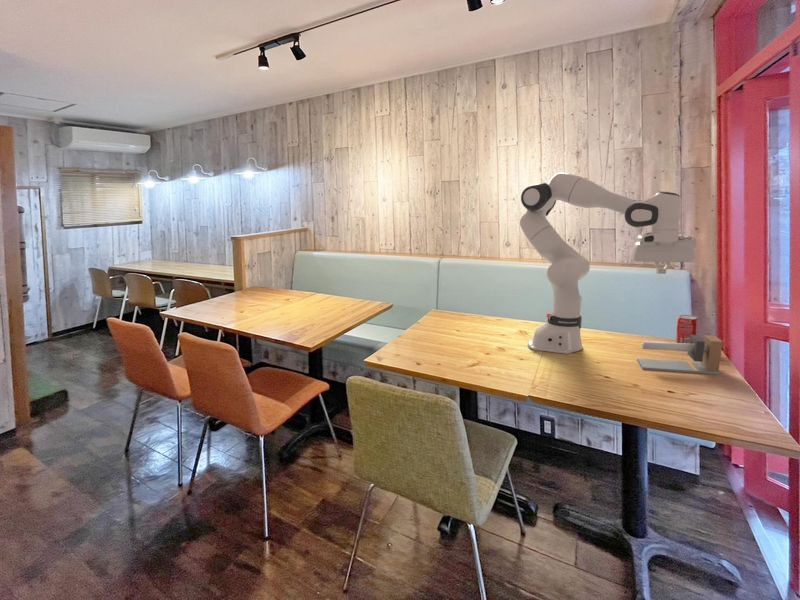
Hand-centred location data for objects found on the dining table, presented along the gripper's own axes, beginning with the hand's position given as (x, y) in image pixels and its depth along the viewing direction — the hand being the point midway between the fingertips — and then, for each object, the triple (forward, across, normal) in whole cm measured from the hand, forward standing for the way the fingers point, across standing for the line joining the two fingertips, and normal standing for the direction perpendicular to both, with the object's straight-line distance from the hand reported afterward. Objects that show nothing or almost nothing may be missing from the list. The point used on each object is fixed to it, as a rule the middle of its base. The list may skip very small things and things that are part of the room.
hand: (661, 273), depth 168 cm
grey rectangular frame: (+30, -12, +8) cm, 33 cm away
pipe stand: (+34, -6, +8) cm, 35 cm away
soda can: (+34, -16, -17) cm, 42 cm away
